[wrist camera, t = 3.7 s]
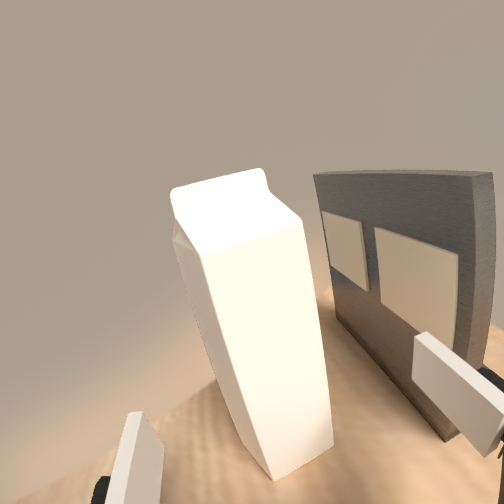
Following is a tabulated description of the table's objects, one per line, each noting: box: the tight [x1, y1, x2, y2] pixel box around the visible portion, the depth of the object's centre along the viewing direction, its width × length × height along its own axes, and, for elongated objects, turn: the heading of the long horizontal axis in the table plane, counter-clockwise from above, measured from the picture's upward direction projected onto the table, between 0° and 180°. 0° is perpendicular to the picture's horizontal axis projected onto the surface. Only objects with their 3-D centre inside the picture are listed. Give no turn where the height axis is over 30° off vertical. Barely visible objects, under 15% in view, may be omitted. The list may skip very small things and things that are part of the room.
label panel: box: [313, 170, 500, 442], centre depth 27 cm, size 8×26×20 cm, turn 8°
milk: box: [170, 168, 334, 482], centre depth 20 cm, size 6×6×22 cm
